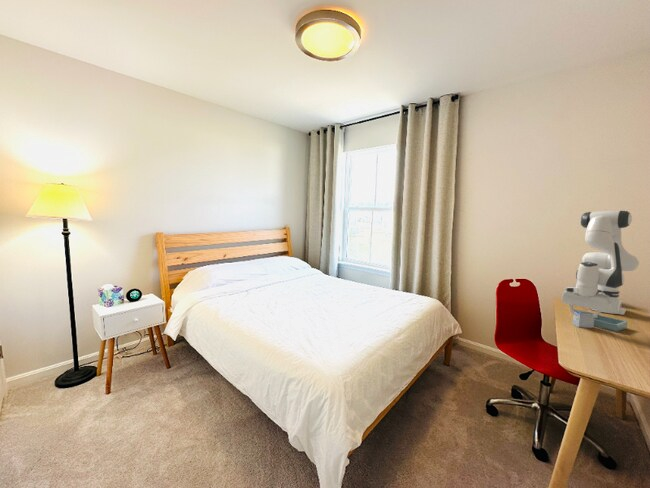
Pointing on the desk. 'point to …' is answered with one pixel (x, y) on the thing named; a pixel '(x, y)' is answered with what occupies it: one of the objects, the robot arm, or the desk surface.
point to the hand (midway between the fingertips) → (583, 314)
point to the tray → (610, 323)
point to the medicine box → (583, 319)
